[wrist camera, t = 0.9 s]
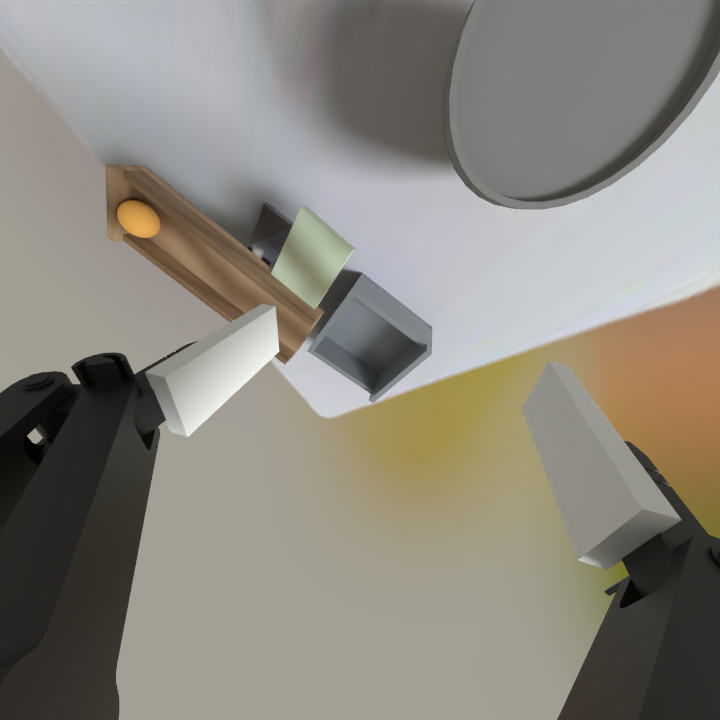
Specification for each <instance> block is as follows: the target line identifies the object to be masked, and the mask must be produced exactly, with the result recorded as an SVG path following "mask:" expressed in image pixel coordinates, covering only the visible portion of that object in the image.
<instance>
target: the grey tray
mask: <svg viewBox="0 0 720 720" xmlns="http://www.w3.org/2000/svg"><path fill="white" fill-rule="evenodd" d="M308 352H310V353H311V354H313V355H314V356H316V357H317V358H319V359H320V360H322V361H323V362H325V363H326V364H328V365H329V366H331V367H332V368H333V369H335V370H336V371H338V372H339V373H341V374H342V375H344V376H345V377H347V378H348V379H350V380H351V381H353V382H354V383H356V384H357V385H359V386H360V387H362V388H363V389H365V390H366V391H368V392H369V393H371V395H370V398H369V401H371V402H372V403H373V402H375V401H376V400H377V399H378V398H379V397H381V396H382V395H383V394H384V393H385V392H387V391H388V390H389V389H390V388H391V387H393V386H394V385H395V384H396V383H397V382H399V381H400V380H401V379H402V378H403V377H405V376H406V375H407V374H408V373H409V372H411V371H412V370H413V369H414V368H416V367H417V366H418V365H419V364H420V363H422V362H423V361H424V360H425V359H426V358H428V357H429V356H430V355H431V353H432V327H431V326H430V325H429V324H427V323H426V322H425V321H423V320H422V319H421V318H420V317H418V316H417V315H416V314H414V313H413V312H412V311H411V310H409V309H408V308H407V307H405V306H404V305H403V304H402V303H400V302H399V301H398V300H396V299H395V298H394V297H393V296H391V295H390V294H389V293H388V292H386V291H385V290H384V289H382V288H381V287H380V286H379V285H377V284H376V283H375V282H373V281H372V280H371V279H370V278H368V277H367V276H366V275H364V274H363V273H362V274H361V275H360V277H359V278H358V280H357V281H356V282H355V284H354V285H353V287H352V288H351V289H350V291H349V292H348V294H347V295H346V296H345V298H344V299H343V301H342V302H341V303H340V305H339V306H338V308H337V309H336V310H335V312H334V313H333V315H332V316H331V317H330V319H329V320H328V322H327V323H326V324H325V326H324V327H323V329H322V330H321V331H320V333H319V334H318V336H317V337H316V339H315V340H314V342H313V343H312V345H311V346H310V348H309V349H308Z"/></svg>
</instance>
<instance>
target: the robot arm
mask: <svg viewBox="0 0 720 720" xmlns="http://www.w3.org/2000/svg"><path fill="white" fill-rule="evenodd" d="M278 352H279V341H278V329H277V318H276V306H272V305H267V304H261V305H259V306H257V307H256V308H254V309H252V310H251V311H249V312H247V313H245V314H244V315H242V316H240V317H239V318H237V319H235V320H233V321H232V322H230V323H228V324H227V325H225V326H223V327H222V328H220V329H218V330H216V331H215V332H213V333H211V334H209V335H208V336H206V337H205V338H203V339H201V340H199V341H196V342H193V343H190V344H187V345H185V346H183V347H181V348H180V349H178V350H176V352H173V353H171V354H169V355H167V357H164V358H162V359H160V360H159V361H157V362H155V363H154V364H152V365H150V366H148V367H146V368H145V369H143V370H141V371H140V372H138V373H136V374H134V373H133V371H132V369H131V367H130V365H129V363H128V360H127V358H126V356H124V355H123V354H120V353H102V354H98V355H93V356H90V357H87V358H84V359H83V360H80V361H78V362H77V363H75V364H74V365H73V366H72V367H71V368H72V370H73V371H74V373H75V375H76V376H77V378H78V380H79V381H80V383H81V384H72V383H71V381H70V379H69V378H68V376H67V375H66V374H64V373H62V372H55V371H54V372H42V373H38V374H33V375H30V376H29V377H26V378H24V379H21V380H19V381H18V382H16V383H14V384H12V385H11V386H10V387H8V388H7V389H5V390H4V391H3V392H1V393H0V720H118V719H119V695H118V690H117V685H116V668H117V661H118V656H119V651H120V645H121V640H122V635H123V629H124V624H125V619H126V613H127V608H128V603H129V597H130V592H131V586H132V581H133V576H134V570H135V565H136V560H137V555H138V549H139V544H140V538H141V533H142V528H143V523H144V517H145V512H146V507H147V501H148V496H149V490H150V485H151V480H152V474H153V469H154V464H155V458H156V453H157V448H158V442H159V437H160V430H159V428H158V426H159V425H160V424H161V423H163V422H164V421H165V420H166V422H167V425H168V427H169V429H170V431H171V432H173V433H176V434H180V435H183V436H186V437H188V436H189V435H190V434H191V433H193V431H195V430H196V429H197V428H198V427H199V426H200V425H201V424H202V423H203V422H204V421H205V420H207V419H208V418H209V417H210V416H211V415H212V414H213V413H214V412H215V411H216V410H217V409H218V408H219V407H220V406H221V405H223V404H224V403H225V402H226V401H227V400H228V399H229V398H230V397H231V396H232V395H233V394H234V393H235V392H236V391H238V390H239V389H240V388H241V387H242V386H243V385H244V384H245V383H246V382H247V381H248V380H249V379H250V378H251V377H252V376H254V375H255V374H256V373H257V372H258V371H259V370H260V369H261V368H262V367H263V366H264V365H265V364H266V363H267V362H269V361H270V360H271V359H272V358H273V357H274V356H275V355H276V354H277V353H278ZM522 410H523V412H524V415H525V418H526V421H527V423H528V426H529V429H530V431H531V434H532V437H533V440H534V442H535V445H536V448H537V450H538V453H539V456H540V459H541V461H542V464H543V467H544V469H545V472H546V475H547V478H548V480H549V483H550V486H551V489H552V491H553V494H554V496H555V499H556V502H557V505H558V508H559V510H560V513H561V516H562V518H563V521H564V524H565V527H566V529H567V532H568V535H569V537H570V540H571V543H572V546H573V548H574V551H575V554H576V557H577V559H578V560H579V561H582V562H585V563H588V564H592V565H595V566H598V567H601V568H604V569H607V570H608V569H609V568H611V567H612V566H614V565H616V564H617V563H619V562H620V561H621V560H622V561H623V563H624V565H625V567H626V569H627V571H628V573H629V576H627V577H626V578H624V579H623V580H621V581H619V582H618V583H616V584H614V585H613V586H611V587H610V588H608V589H607V590H606V591H605V593H606V594H607V595H609V596H610V595H611V594H613V593H616V594H615V596H614V598H613V600H612V602H611V605H610V607H609V609H608V611H607V613H606V615H605V618H604V620H603V622H602V624H601V626H600V628H599V631H598V633H597V635H596V637H595V639H594V641H593V644H592V646H591V648H590V650H589V652H588V654H587V657H586V659H585V661H584V663H583V665H582V667H581V670H580V672H579V674H578V676H577V678H576V680H575V682H574V685H573V687H572V689H571V691H570V694H569V695H568V698H567V700H566V702H565V704H564V706H563V708H562V711H561V713H560V715H559V717H558V719H557V720H720V539H719V538H716V537H713V536H710V535H708V533H707V532H706V531H705V530H704V528H703V527H702V526H701V524H700V523H699V522H698V521H697V520H696V518H695V517H694V516H693V514H692V513H691V512H690V510H689V509H688V508H687V507H686V505H685V504H684V503H683V501H682V500H681V499H680V498H679V496H678V495H677V494H676V493H675V491H674V490H673V489H672V487H669V486H668V482H667V481H666V480H665V479H664V477H663V476H662V475H661V474H659V473H658V472H659V471H658V470H657V468H656V467H655V466H654V464H653V463H652V462H651V461H650V459H649V458H648V457H647V456H646V455H645V454H643V452H641V451H640V450H639V449H638V448H637V447H635V446H634V445H633V444H632V443H631V442H627V441H623V439H622V438H621V437H620V435H619V434H618V433H617V431H616V430H615V428H614V427H613V426H612V424H611V423H610V422H609V420H608V419H607V418H606V416H605V415H604V414H603V412H602V411H601V409H600V408H599V407H598V405H597V404H596V403H595V401H594V400H593V399H592V397H591V396H590V394H589V393H588V392H587V390H586V389H585V388H584V386H583V385H582V384H581V382H580V381H579V379H578V378H577V377H576V375H575V374H574V373H573V371H572V370H571V369H570V367H569V366H568V365H564V364H559V363H554V362H548V364H547V365H546V367H545V369H544V370H543V372H542V374H541V376H540V378H539V379H538V381H537V383H536V385H535V386H534V388H533V390H532V391H531V393H530V395H529V397H528V398H527V400H526V402H525V404H524V405H523V407H522ZM34 428H35V429H36V430H37V431H38V432H39V433H40V435H41V436H42V437H43V439H42V440H41V441H40V442H38V443H37V444H34V443H32V442H31V440H30V439H29V438H28V437H27V435H28V434H29V433H30V432H31V431H32V430H33V429H34Z"/></svg>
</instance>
